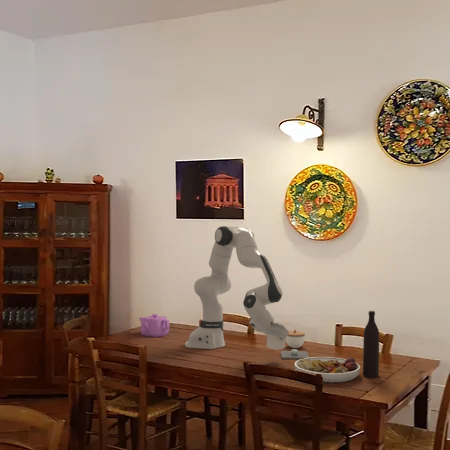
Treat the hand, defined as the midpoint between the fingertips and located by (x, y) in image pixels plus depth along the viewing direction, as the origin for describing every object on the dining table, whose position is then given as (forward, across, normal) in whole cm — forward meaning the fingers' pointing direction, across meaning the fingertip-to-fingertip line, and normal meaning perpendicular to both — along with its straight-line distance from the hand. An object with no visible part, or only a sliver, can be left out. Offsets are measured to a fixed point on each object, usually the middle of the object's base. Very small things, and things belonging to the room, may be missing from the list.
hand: (277, 337), depth 305 cm
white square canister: (+3, 0, +4) cm, 5 cm away
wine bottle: (+16, -47, 0) cm, 50 cm away
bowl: (+7, -32, +9) cm, 34 cm away
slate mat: (+19, +1, -2) cm, 19 cm away
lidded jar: (+31, +14, -14) cm, 37 cm away
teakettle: (+5, +92, +15) cm, 93 cm away
